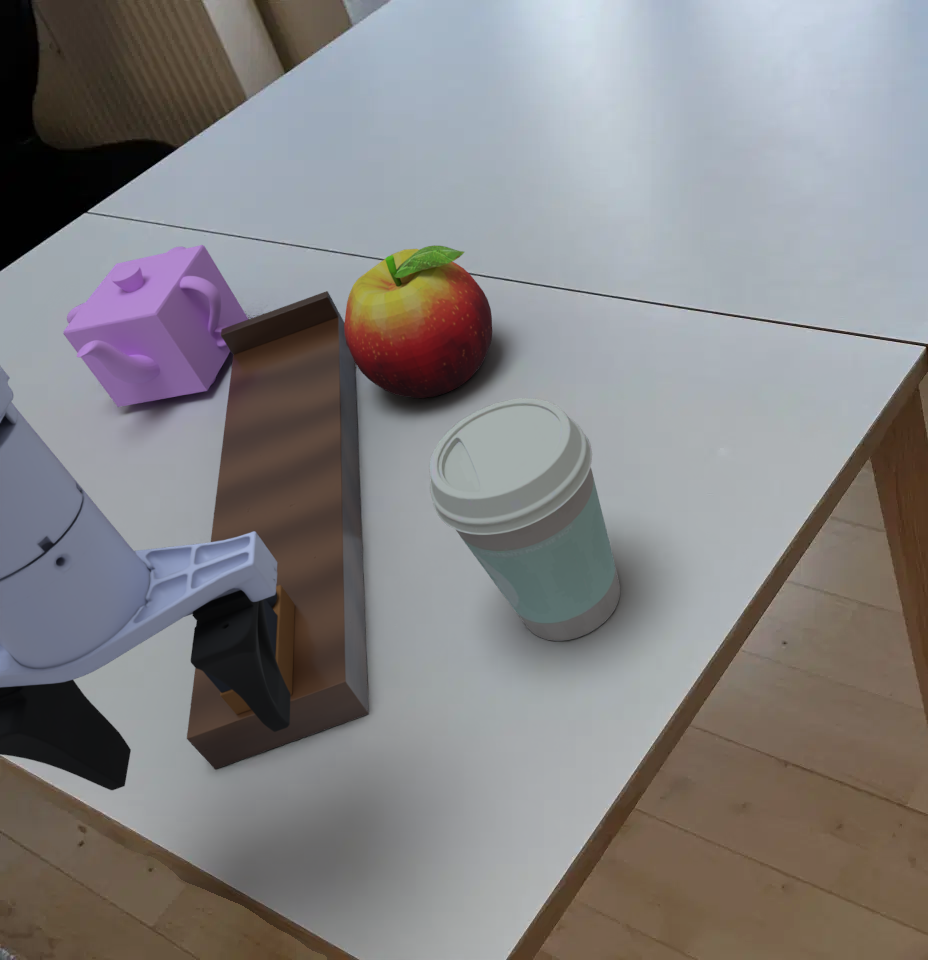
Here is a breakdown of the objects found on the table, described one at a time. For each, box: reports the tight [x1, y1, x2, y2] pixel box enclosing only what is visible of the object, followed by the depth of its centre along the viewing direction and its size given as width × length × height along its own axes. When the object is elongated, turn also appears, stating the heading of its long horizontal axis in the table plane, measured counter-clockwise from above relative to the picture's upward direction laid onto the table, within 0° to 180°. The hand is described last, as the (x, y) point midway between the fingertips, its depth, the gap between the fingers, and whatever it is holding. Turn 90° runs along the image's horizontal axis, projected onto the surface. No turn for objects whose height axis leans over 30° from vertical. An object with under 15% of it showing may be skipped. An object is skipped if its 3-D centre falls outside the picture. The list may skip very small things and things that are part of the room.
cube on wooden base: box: [195, 585, 295, 714], centre depth 60 cm, size 7×3×5 cm, turn 13°
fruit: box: [344, 245, 493, 399], centre depth 81 cm, size 11×11×10 cm
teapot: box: [62, 244, 249, 408], centre depth 91 cm, size 18×14×10 cm
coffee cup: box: [428, 397, 621, 642], centre depth 59 cm, size 8×8×12 cm
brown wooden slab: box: [186, 290, 370, 770], centre depth 74 cm, size 40×9×5 cm, turn 13°
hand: (201, 741), depth 49 cm, fingers open, 7 cm apart
